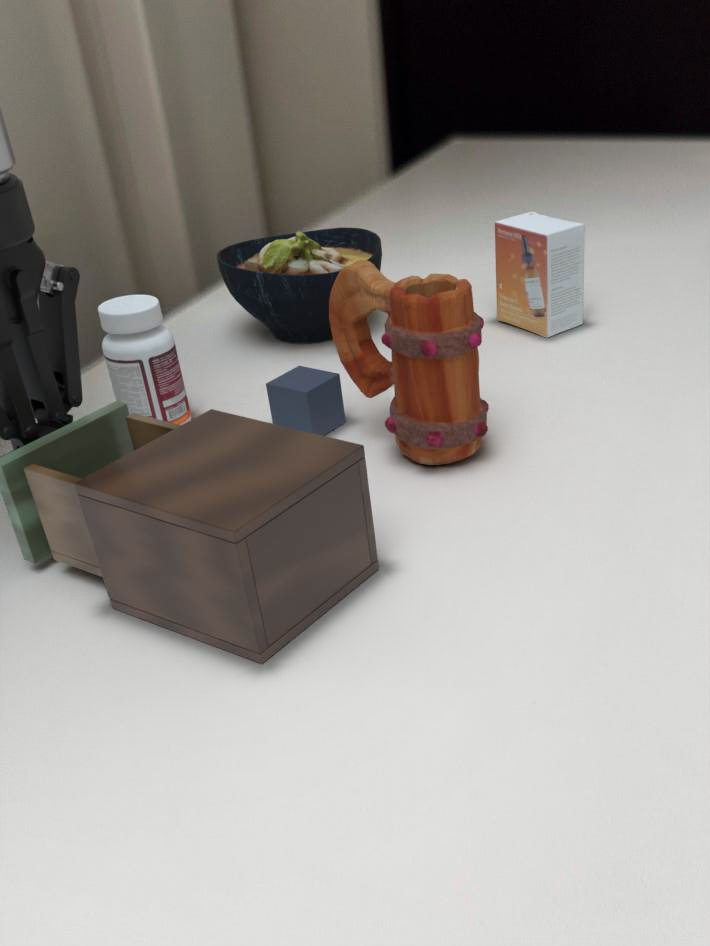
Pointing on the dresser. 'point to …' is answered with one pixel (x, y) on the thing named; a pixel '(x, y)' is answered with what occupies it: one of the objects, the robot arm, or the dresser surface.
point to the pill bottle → (143, 359)
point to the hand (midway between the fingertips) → (61, 507)
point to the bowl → (294, 277)
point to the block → (307, 400)
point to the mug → (415, 357)
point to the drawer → (67, 481)
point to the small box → (540, 273)
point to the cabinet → (232, 530)
